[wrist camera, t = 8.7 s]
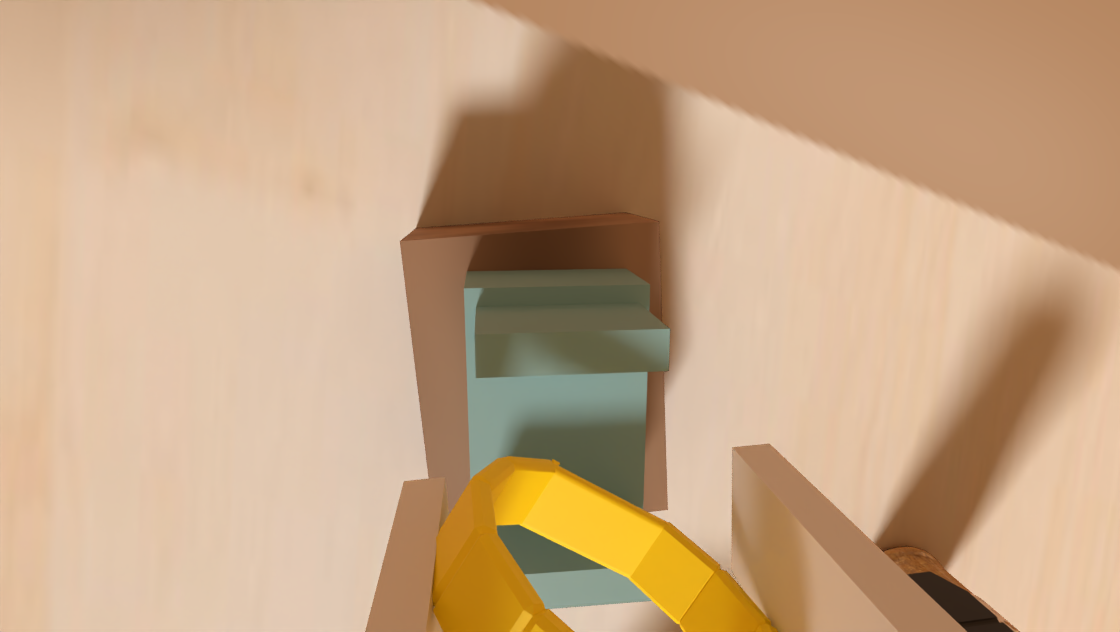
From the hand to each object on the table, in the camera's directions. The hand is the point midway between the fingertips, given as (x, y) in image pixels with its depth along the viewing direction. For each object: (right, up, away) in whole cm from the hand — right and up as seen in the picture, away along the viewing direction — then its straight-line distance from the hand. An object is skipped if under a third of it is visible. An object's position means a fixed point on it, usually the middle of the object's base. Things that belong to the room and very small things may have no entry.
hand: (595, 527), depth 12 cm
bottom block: (-2, +3, +13) cm, 14 cm away
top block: (-1, +2, +8) cm, 9 cm away
